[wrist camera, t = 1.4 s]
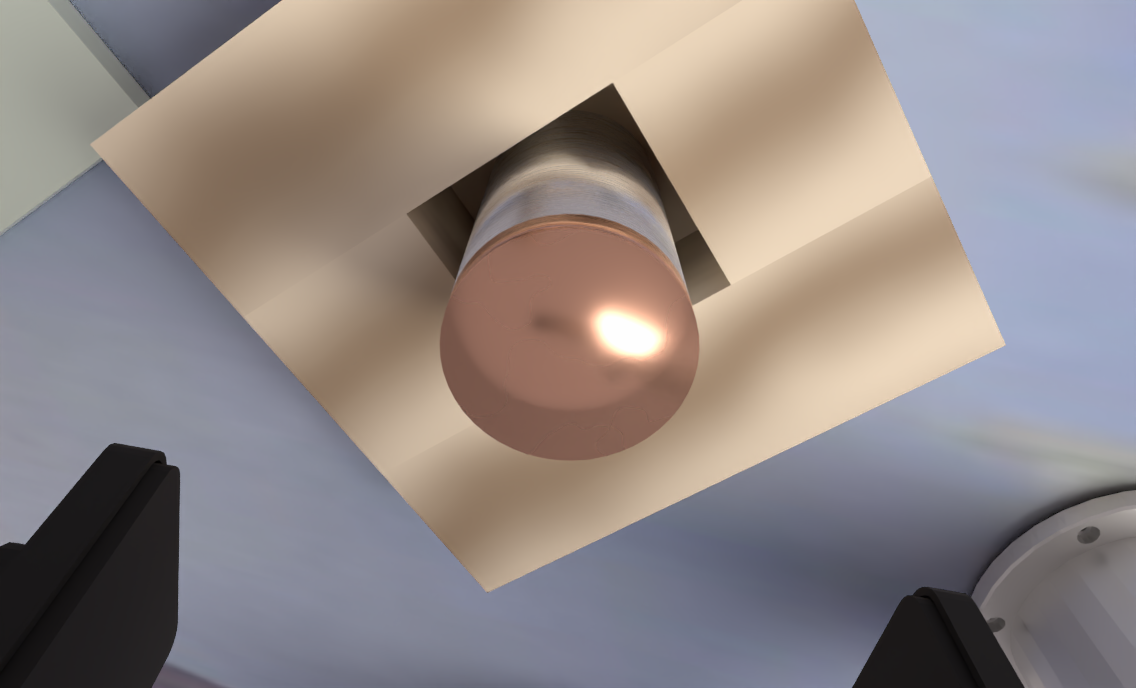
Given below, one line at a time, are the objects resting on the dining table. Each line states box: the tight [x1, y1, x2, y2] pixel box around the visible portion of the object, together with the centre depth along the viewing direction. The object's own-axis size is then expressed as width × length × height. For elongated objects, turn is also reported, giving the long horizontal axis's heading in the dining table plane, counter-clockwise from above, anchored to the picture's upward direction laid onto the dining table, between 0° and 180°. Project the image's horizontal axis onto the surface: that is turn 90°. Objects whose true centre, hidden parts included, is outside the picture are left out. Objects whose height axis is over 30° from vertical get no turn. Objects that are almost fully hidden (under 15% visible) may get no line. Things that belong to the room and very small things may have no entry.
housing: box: [90, 0, 1005, 593], centre depth 25 cm, size 18×18×6 cm
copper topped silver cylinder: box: [440, 110, 700, 461], centre depth 22 cm, size 5×5×11 cm
